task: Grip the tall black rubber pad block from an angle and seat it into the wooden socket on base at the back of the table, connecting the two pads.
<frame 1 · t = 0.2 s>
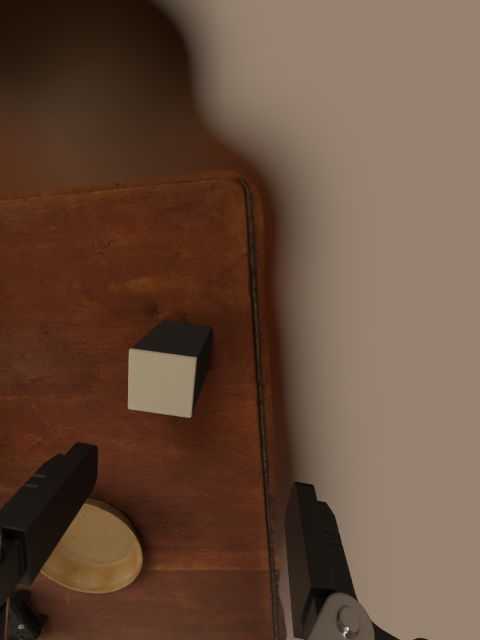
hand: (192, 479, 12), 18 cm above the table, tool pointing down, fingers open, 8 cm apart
plant saucer: (94, 528, 38), on the table
pad block: (185, 346, 30), on the table
game controller: (22, 604, 43), on the table
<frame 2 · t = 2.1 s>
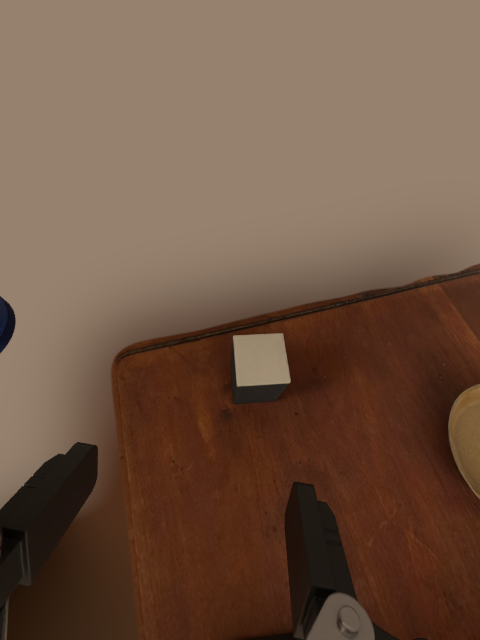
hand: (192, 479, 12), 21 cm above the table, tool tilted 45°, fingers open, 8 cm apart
pad block: (252, 381, 35), on the table
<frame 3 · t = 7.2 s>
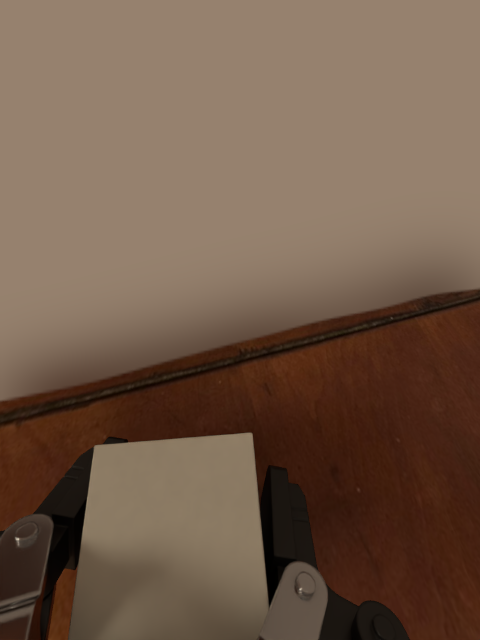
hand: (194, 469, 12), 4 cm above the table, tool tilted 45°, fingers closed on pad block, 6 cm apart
pad block: (194, 506, 15), on the table, touching gripper
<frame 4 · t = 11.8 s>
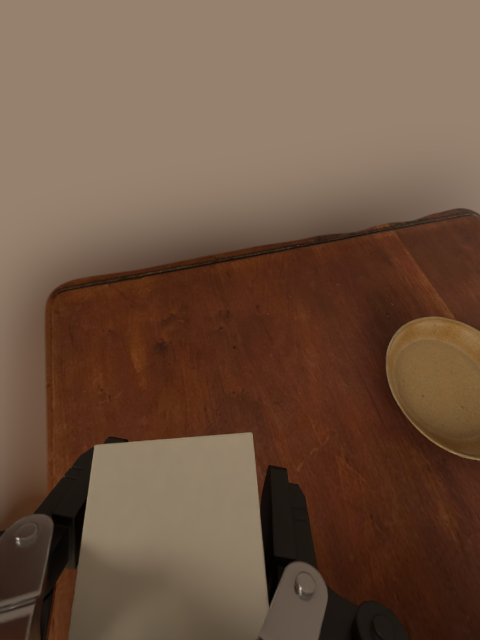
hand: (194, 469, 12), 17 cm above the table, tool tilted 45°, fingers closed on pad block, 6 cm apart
plant saucer: (439, 387, 32), on the table
pad block: (194, 506, 15), point 12 cm above the table, touching gripper
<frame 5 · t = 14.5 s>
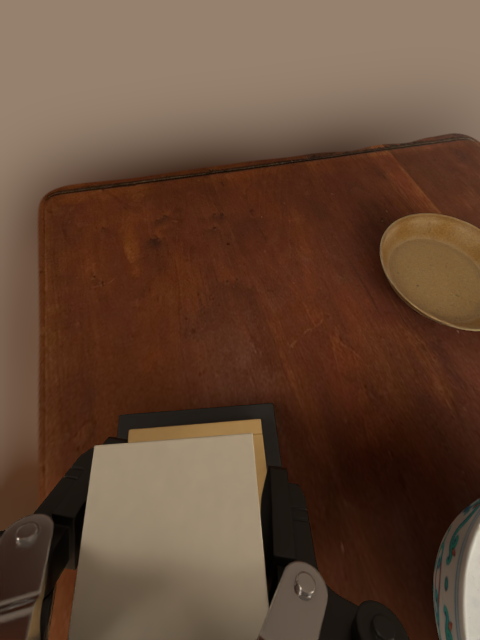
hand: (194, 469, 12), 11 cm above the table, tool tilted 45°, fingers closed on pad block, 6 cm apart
wooden socket on base: (200, 496, 21), on the table
plant saucer: (434, 281, 32), on the table
pad block: (194, 506, 15), point 7 cm above the table, touching gripper
when the fingers open (6 cm above the table, at t = 16.6 s): pad block stays where it is, resting on wooden socket on base.
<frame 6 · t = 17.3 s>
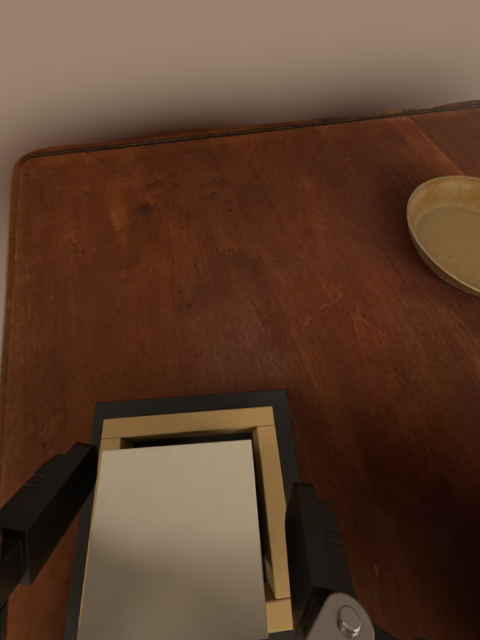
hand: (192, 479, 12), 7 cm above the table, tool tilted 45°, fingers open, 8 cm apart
wooden socket on base: (196, 504, 17), on the table
plant saucer: (468, 252, 28), on the table
pad block: (195, 508, 16), point 1 cm above the table, touching wooden socket on base
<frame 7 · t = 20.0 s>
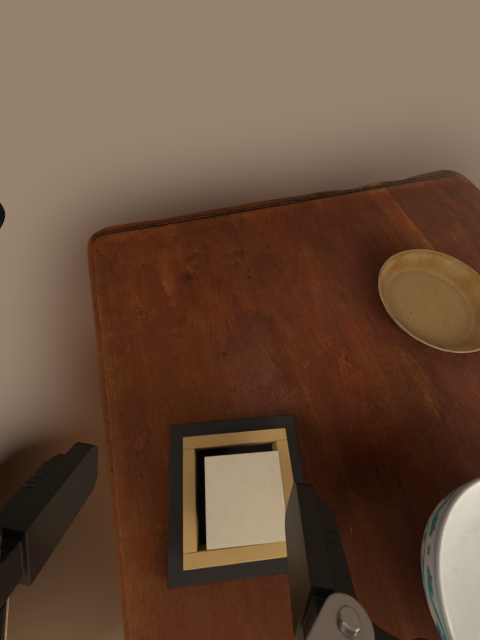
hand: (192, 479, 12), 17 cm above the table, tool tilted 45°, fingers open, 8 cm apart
wooden socket on base: (237, 490, 27), on the table
plant saucer: (425, 307, 38), on the table
chinaware: (468, 573, 25), on the table
pad block: (238, 491, 26), point 1 cm above the table, touching wooden socket on base
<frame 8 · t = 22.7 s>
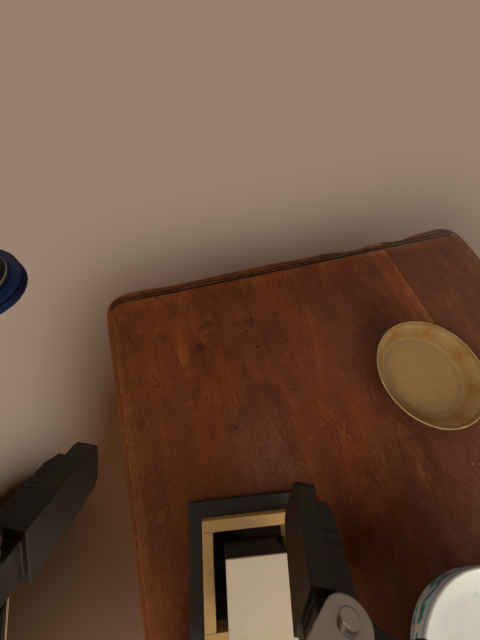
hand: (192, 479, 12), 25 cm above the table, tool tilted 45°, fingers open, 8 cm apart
wooden socket on base: (249, 563, 30), on the table
plant saucer: (419, 376, 41), on the table
pad block: (250, 568, 29), point 1 cm above the table, touching wooden socket on base
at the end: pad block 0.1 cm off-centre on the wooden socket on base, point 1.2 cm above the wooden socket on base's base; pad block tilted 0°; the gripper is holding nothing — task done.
